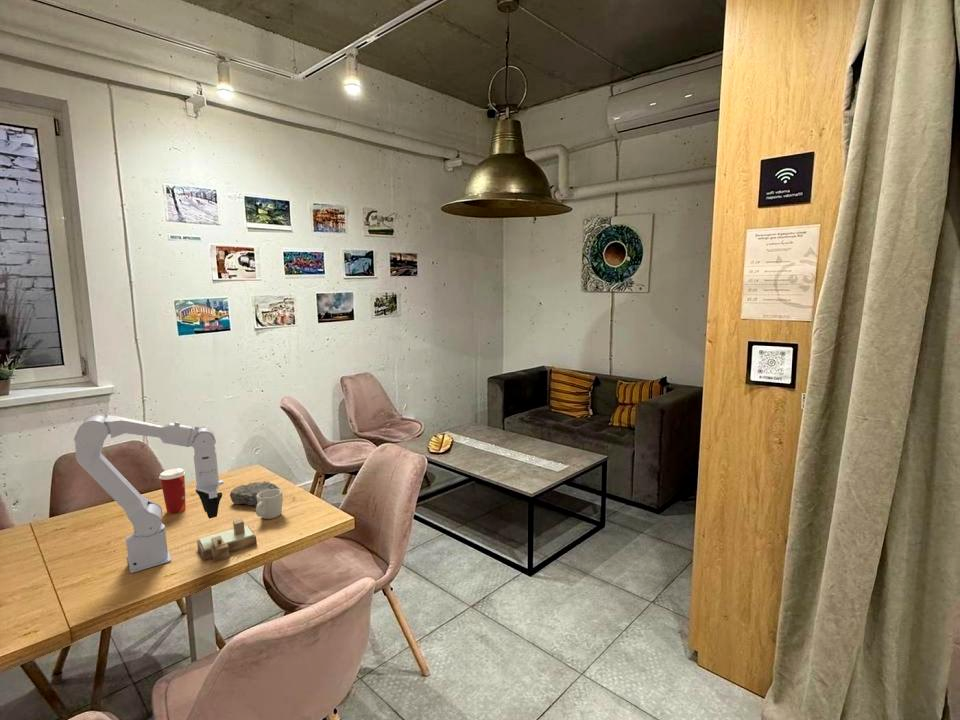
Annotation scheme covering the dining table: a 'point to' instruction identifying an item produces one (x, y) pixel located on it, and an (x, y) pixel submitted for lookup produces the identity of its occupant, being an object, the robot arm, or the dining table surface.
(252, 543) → the wooden tray
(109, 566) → the dining table surface
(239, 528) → the lid
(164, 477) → the paper cup
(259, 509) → the cup
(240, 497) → the rock
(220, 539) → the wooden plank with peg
